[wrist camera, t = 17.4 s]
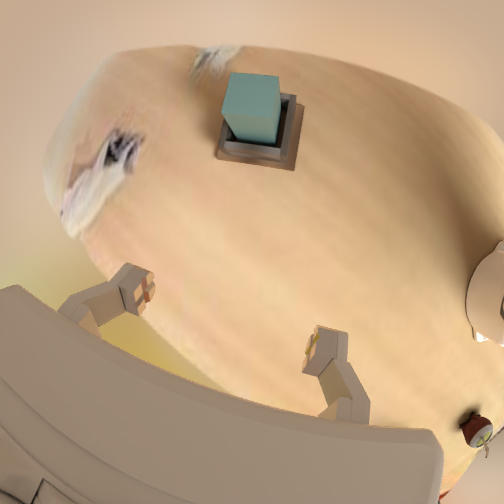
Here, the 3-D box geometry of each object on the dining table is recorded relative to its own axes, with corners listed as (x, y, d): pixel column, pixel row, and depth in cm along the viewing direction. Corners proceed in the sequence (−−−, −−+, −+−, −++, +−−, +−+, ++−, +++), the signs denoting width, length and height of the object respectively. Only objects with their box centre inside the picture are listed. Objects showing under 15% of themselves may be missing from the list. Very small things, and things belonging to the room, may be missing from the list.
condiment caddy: (304, 108, 36) (306, 92, 30) (293, 171, 37) (295, 163, 31) (231, 99, 37) (223, 83, 31) (218, 159, 38) (207, 150, 33)
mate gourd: (477, 423, 37) (503, 458, 22) (453, 437, 38) (476, 476, 23) (483, 403, 36) (514, 437, 21) (458, 417, 37) (486, 457, 22)
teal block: (281, 117, 35) (278, 76, 23) (276, 149, 36) (270, 118, 24) (247, 112, 36) (231, 72, 24) (240, 144, 36) (220, 112, 25)
